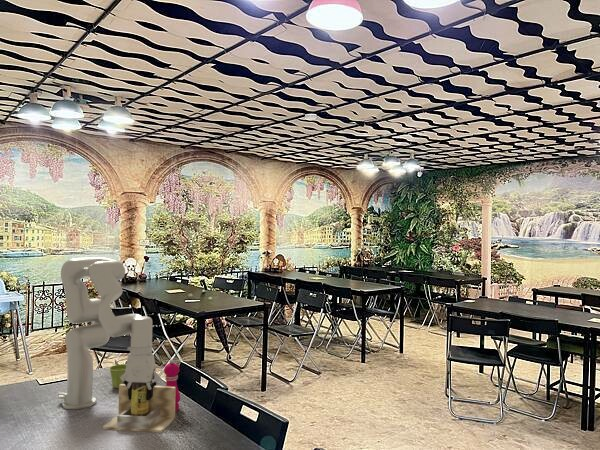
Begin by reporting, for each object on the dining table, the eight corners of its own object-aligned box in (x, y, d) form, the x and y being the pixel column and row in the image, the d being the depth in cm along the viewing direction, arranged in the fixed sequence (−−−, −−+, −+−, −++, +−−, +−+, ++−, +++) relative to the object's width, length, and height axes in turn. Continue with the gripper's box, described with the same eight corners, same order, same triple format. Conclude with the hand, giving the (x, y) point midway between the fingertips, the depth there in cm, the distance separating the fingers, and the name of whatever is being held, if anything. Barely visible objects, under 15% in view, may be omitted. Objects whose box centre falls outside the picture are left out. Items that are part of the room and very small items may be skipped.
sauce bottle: (138, 421, 169) (139, 366, 169) (127, 417, 172) (127, 363, 172) (152, 415, 174) (153, 362, 175) (141, 411, 177) (142, 359, 178)
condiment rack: (102, 429, 168) (103, 395, 168) (120, 415, 181) (120, 384, 181) (161, 432, 165) (162, 398, 166) (175, 418, 178) (175, 386, 179)
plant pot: (125, 389, 210) (126, 370, 210) (105, 389, 210) (105, 369, 210) (133, 383, 219) (134, 364, 220) (113, 382, 220) (114, 364, 220)
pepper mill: (175, 413, 183) (176, 362, 183) (158, 411, 184) (159, 361, 185) (183, 406, 190) (184, 357, 191) (166, 405, 192) (167, 356, 192)
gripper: (114, 351, 171) (113, 401, 170) (159, 353, 169) (158, 403, 169) (124, 347, 178) (123, 394, 178) (167, 348, 176) (166, 396, 176)
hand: (140, 398), depth 173 cm, fingers closed on sauce bottle, 6 cm apart
